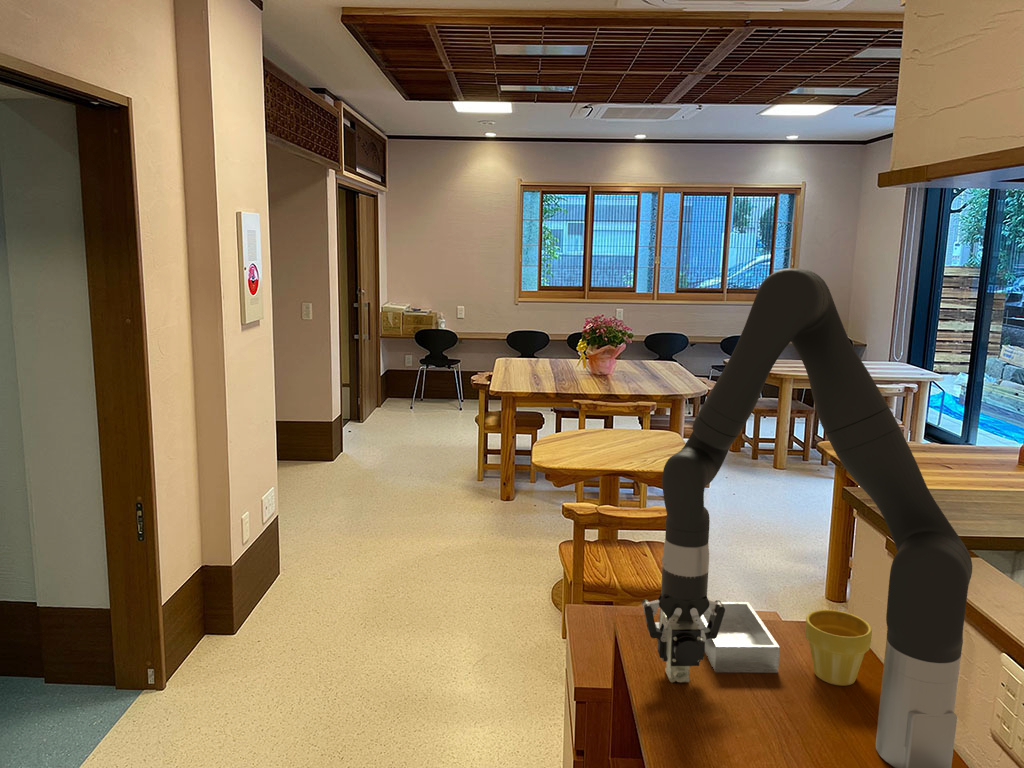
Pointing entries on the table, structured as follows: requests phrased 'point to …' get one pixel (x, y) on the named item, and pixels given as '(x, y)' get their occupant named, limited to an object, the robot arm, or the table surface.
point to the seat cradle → (741, 642)
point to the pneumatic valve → (682, 648)
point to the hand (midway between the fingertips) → (680, 658)
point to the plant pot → (837, 644)
